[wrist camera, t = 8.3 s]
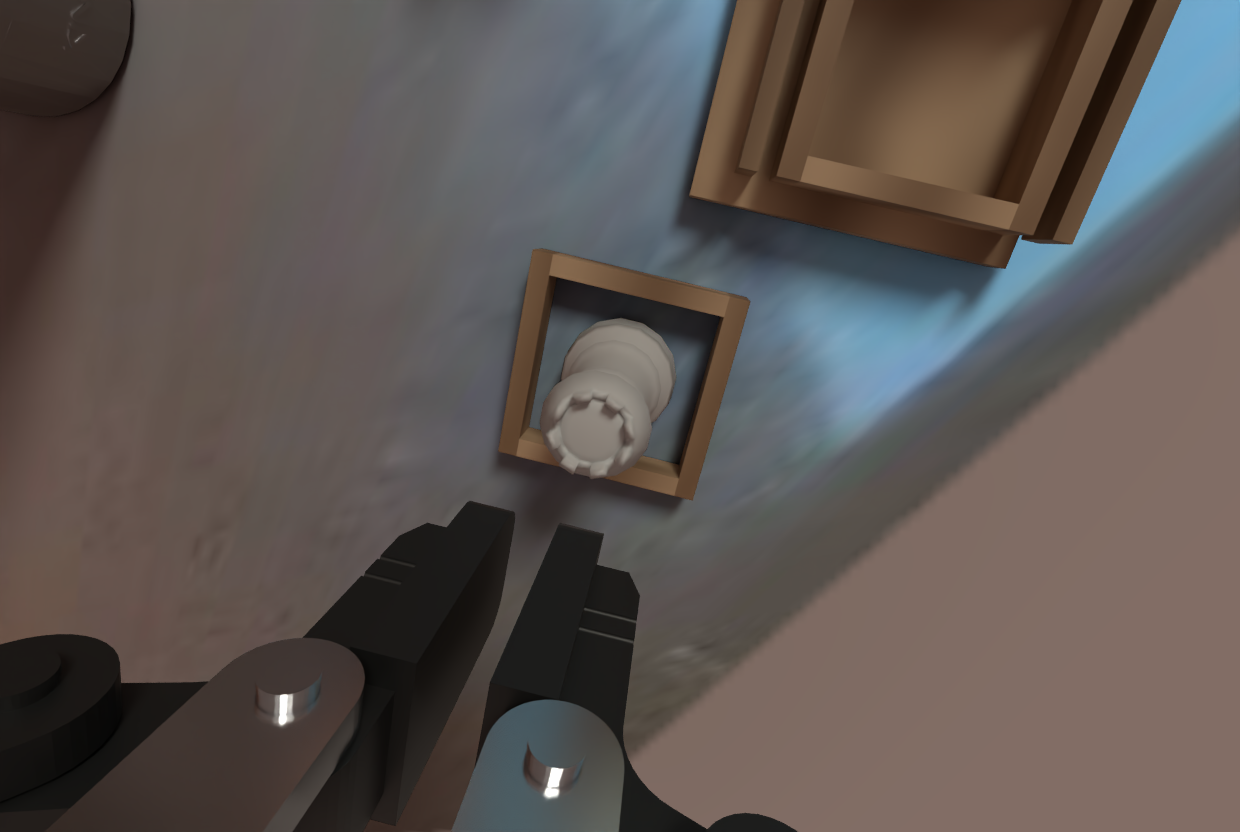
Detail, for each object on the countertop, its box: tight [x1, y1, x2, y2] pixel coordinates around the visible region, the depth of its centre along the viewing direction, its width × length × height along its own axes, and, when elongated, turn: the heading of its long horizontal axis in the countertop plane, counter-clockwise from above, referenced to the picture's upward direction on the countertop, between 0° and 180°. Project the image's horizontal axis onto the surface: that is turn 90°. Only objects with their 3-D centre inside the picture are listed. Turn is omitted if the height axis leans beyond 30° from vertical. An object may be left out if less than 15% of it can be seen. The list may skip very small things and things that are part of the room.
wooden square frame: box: [498, 249, 750, 500], centre depth 23 cm, size 8×8×2 cm
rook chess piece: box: [540, 318, 676, 479], centre depth 20 cm, size 4×4×8 cm
